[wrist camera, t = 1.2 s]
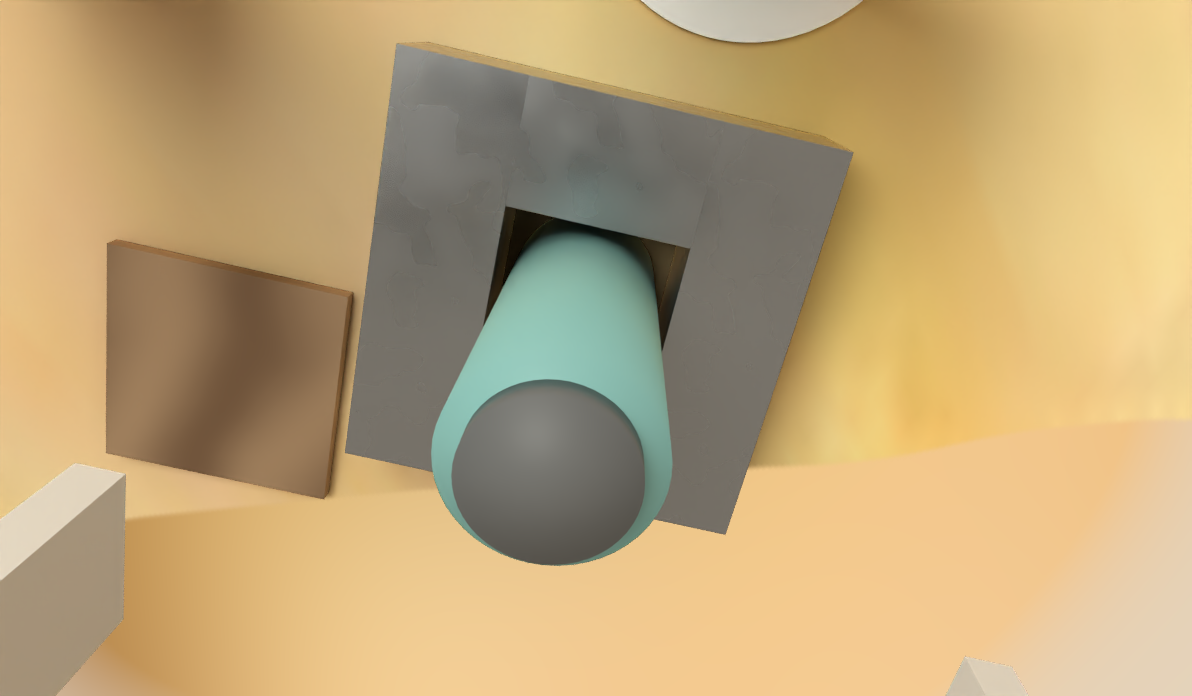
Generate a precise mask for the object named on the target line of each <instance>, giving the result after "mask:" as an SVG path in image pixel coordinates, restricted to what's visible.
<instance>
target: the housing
mask: <svg viewBox="0 0 1192 696" xmlns="http://www.w3.org/2000/svg"><path fill="white" fill-rule="evenodd" d="M852 155H853V152H852V151H850V150H848V149H846V148H844V147H843V146H841V145H839V144H837V143H835V142H833V141H831V140H829V139H828V138H826V137H824V136H819V135H815V134H811V133H807V132H803V131H798V130H794V129H790V128H786V127H782V126H778V125H773V124H769V123H765V122H761V121H757V120H752V119H748V118H744V117H740V116H736V115H731V114H727V113H723V112H719V111H715V110H710V109H706V108H702V107H698V106H694V105H690V104H685V103H681V102H677V101H673V100H669V99H664V98H660V97H656V96H652V95H648V94H643V93H639V92H635V91H631V90H627V89H623V88H618V87H614V86H610V85H606V84H602V83H597V82H593V81H589V80H585V79H581V78H576V77H572V76H568V75H564V74H560V73H556V72H551V71H547V70H543V69H539V68H535V67H530V66H526V65H522V64H518V63H514V62H509V61H505V60H501V59H497V58H493V57H489V56H484V55H480V54H476V53H472V52H468V51H463V50H459V49H455V48H451V47H447V46H442V45H438V44H434V43H430V42H418V43H398V44H397V45H396V53H395V61H394V69H393V77H392V84H391V92H390V100H389V108H388V116H387V124H386V132H385V140H384V148H383V156H382V163H381V171H380V179H379V187H378V195H377V203H376V211H375V219H374V227H373V235H372V243H371V250H370V258H369V266H368V274H367V282H366V290H365V298H364V306H363V314H362V322H361V329H360V337H359V345H358V353H357V361H356V369H355V377H354V385H353V393H352V401H351V409H350V416H349V424H348V432H347V440H346V448H345V453H348V454H353V455H357V456H362V457H367V458H371V459H376V460H381V461H385V462H390V463H395V464H399V465H404V466H408V467H413V468H418V469H422V470H427V471H432V472H433V470H432V459H431V449H432V439H433V435H434V431H435V427H436V424H437V421H438V419H439V416H440V414H441V412H442V410H443V408H444V406H445V404H446V402H447V400H448V398H449V395H450V393H451V391H452V389H453V387H454V385H455V383H456V381H457V379H458V377H459V375H460V373H461V371H462V369H463V367H464V365H465V363H466V361H467V359H468V357H469V355H470V353H471V351H472V349H473V347H474V345H475V343H476V341H477V339H478V337H479V335H480V333H481V331H482V329H483V327H484V325H485V323H486V321H487V319H488V317H489V315H490V313H491V311H492V309H493V307H494V305H495V303H496V301H497V299H498V297H499V295H500V292H501V287H502V282H503V276H504V271H505V266H506V261H507V255H508V250H509V245H510V240H511V234H512V229H513V224H514V219H515V213H516V209H521V210H525V211H529V212H534V213H538V214H542V215H547V216H551V217H555V218H560V219H564V220H568V221H573V222H577V223H581V224H586V225H590V226H594V227H599V228H603V229H607V230H612V231H616V232H620V233H625V234H629V235H633V236H638V237H642V238H646V239H651V240H655V241H659V242H664V243H668V244H673V245H676V249H675V253H674V256H673V260H672V264H671V268H670V271H669V275H668V279H667V283H666V286H665V290H664V294H663V298H662V301H661V305H660V309H659V312H658V321H659V331H660V341H661V351H662V360H663V370H664V380H665V390H666V400H667V410H668V420H669V430H670V440H671V450H672V462H673V463H672V477H671V482H670V486H669V490H668V493H667V496H666V498H665V501H664V503H663V505H662V507H661V509H660V511H659V512H658V514H657V516H656V517H655V518H654V519H655V520H660V521H664V522H669V523H674V524H678V525H683V526H688V527H693V528H697V529H701V530H706V531H711V532H715V533H720V534H726V531H727V528H728V525H729V522H730V519H731V516H732V513H733V511H734V508H735V505H736V502H737V499H738V495H739V492H740V489H741V486H742V484H743V480H744V478H745V475H746V472H747V469H748V466H749V463H750V460H751V457H752V454H753V451H754V448H755V445H756V442H757V439H758V436H759V433H760V430H761V427H762V424H763V421H764V418H765V415H766V412H767V409H768V406H769V403H770V400H771V397H772V394H773V391H774V388H775V385H776V382H777V379H778V376H779V373H780V370H781V367H782V364H783V361H784V358H785V355H786V352H787V349H788V346H789V343H790V340H791V337H792V334H793V331H794V329H795V326H796V323H797V320H798V317H799V314H800V311H801V308H802V305H803V302H804V299H805V296H806V293H807V290H808V287H809V284H810V281H811V278H812V275H813V272H814V269H815V266H816V263H817V260H818V257H819V254H820V251H821V248H822V245H823V242H824V239H825V236H826V233H827V230H828V227H829V224H830V221H831V218H832V215H833V212H834V209H835V206H836V203H837V200H838V197H839V194H840V191H841V188H842V185H843V182H844V179H845V176H846V173H847V170H848V167H849V164H850V161H851V158H852Z"/></svg>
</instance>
